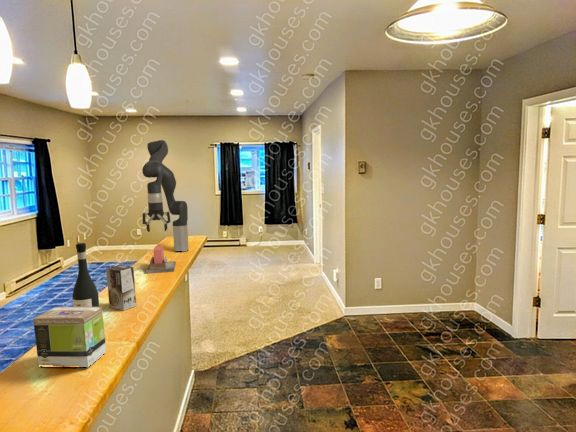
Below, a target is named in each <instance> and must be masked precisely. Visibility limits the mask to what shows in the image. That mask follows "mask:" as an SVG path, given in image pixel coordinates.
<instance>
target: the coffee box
mask: <svg viewBox="0 0 576 432" xmlns="http://www.w3.org/2000/svg"><path fill="white" fill-rule="evenodd" d="M134 267H135V266H129V265H128V266H127V265H123V264H122V265H121V264H118V265H113V266H111V267H108V268H105V275H106V284H107V293H108V294H107V295H108V303H109V308H111V309H116V310H121V311H126V310H129V309H132V308H134V307H135V308H136V307H137V298H136V286H135V285H136V284H135V283H136V282H135V271H134V270H135V269H134Z"/></svg>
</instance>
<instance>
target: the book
mask: <svg viewBox="0 0 576 432" xmlns="http://www.w3.org/2000/svg"><path fill="white" fill-rule="evenodd" d="M152 251H153V257H154V264H156V263H164V259H165V255H164V254H165V253H164V252H165V251H164V245H155V247H154V248H153V250H152Z"/></svg>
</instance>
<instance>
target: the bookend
mask: <svg viewBox="0 0 576 432" xmlns="http://www.w3.org/2000/svg"><path fill="white" fill-rule="evenodd" d="M167 262H168V263H167ZM164 263H165V268H166V267H172V266H173V262H171V261H168V257H167V255H166V256H165V255H164Z"/></svg>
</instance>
